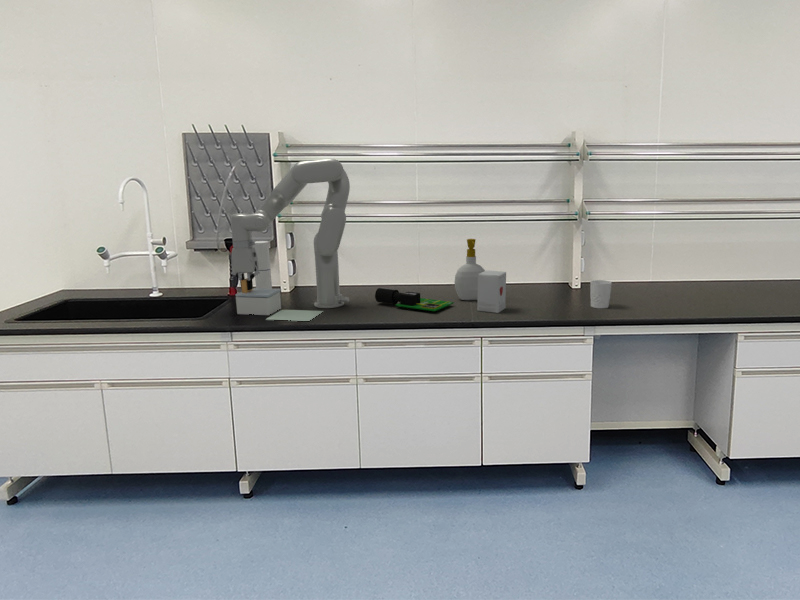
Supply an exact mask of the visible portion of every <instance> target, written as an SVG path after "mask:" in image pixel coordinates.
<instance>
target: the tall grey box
mask: <svg viewBox="0 0 800 600" xmlns="http://www.w3.org/2000/svg"><path fill="white" fill-rule="evenodd" d="M254 242H255V245H253V247H255V250H256V253H257V258H258V264H259V272H260V274H258V275H256V276H255V277H254V279H255V280H254V281H255V288H261V289H273V285H272V284H273V282H272V272H271V271H272V270H271V260H270V259H271V258H270V257H271V256H270V245H269V241H268V240H257V241H254Z"/></svg>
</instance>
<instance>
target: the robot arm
mask: <svg viewBox="0 0 800 600" xmlns="http://www.w3.org/2000/svg"><path fill="white" fill-rule="evenodd" d="M317 183H328V189H327V195H326V199H325V203H324V205H323V208H322V211H321V214H320V218H321V219H320V223H319V226H318V227H319V228H318V231H317V233H316V234H315V235H314V238H313V251H314V261H315V262H314V263H315V265H314V266H315V279H316V280H315V282H316V297H317V300H316V301H315V302H313V304H314V305H313V306H314V307H315V308H318V309H334V308H339V307H342V306H344V304H345V303H349V302H350V297H348V296H344V295H343V293H341V292H340V291H341V290H340V274H339V255H338V251H339V248H340V245H341V241H342V239H343V238H342V237H343V234H344V231H345V227H346V224H347V223H346V222H347V215H346V212H345V211H346V209H347V205H348V200H349V196H350V191H351V189H350V188H351V186H350V179H349V176H348V173H347V172H346V170H345V169H344V166H343V164H342V162H341V161H339V160H338V159H335V158H328V159H327V158H326V159H317V160H305V161H303V160H301V161H298V162H296V163H295V164H293V166H292V167H291V168H290V169H289V171H287V173H286V174H285V175H284V176H283V177H282V178H281V180H280V181H279V182H278V183H277V184H276V186H275V187H274V188H273V189H272V191H271V192H270V194H269V196H268V197H267V198H266V200H264V202H263V203H262V204H261V205H260V206H259V207H258V208H257V209H256V211H255V212H254V213H249V214H248V213H246V212H245V213H239V212H238V213H233V214H231V215H230V228H231V229H230V231H231V238H232V239H231V240H232V247H233V248H231V258H230V261H231V275H233V276H235V277H237V279H238V280H239V281H240V283H239V284H241V280H244V279H246V278H247V279H248V280H247V290H251V289H252V288H253V287H254V286H253V285H254V284H253V280H254V279H255V276H256V275H258V274H260V272H259V264H258V258H257V253H256V250H255V247H253V245H255V242H256V241H253V238H252V235H253V234H252V232H255V233H256V232H257V233H259V232H265V231H266V230H268V228H269V227H270V225H271V224H272V222H273V221H274V220H275V219H276V218H277V216H279V214H280V213H282V211H283V210H284V209H285V208H286V207H288V206H290V205H291V203H292V202H293V201H294V200H295V199H296V197H297V196H298V195H299V194H300V193H301V192H302V191H303V190H304V188H305V187H307V185H308V184H317ZM245 274H246V277H245ZM240 288H241V289H242V286H241V285H240Z"/></svg>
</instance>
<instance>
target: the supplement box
mask: <svg viewBox="0 0 800 600" xmlns="http://www.w3.org/2000/svg"><path fill="white" fill-rule="evenodd" d="M506 289H507V271H502V270H501V271H498V270H497V271H496V270H485V271H484V272H481V273H480V274H478V300H477V302H476V303H477V307H476V308H477V309H476V310H477V311H478V312H485V313H494V314H499V313H500V312H502V311H504V310H505V309H506V298H507V296H506V295H507V290H506Z"/></svg>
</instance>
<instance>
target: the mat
mask: <svg viewBox="0 0 800 600" xmlns="http://www.w3.org/2000/svg"><path fill="white" fill-rule="evenodd" d="M322 312H323V313H324V310H305V309H302V310H301V309H280V310H278V311H276V312H274V313H273V314H271V315H269V317H267V318H266V319H265V321H274V320H288V321H287V322H297V321H310V320H311V321H313V320H314V319H316V318H317V317H318V315H319V314H320V315H321V313H322ZM323 313H322V314H323ZM320 315H319V316H320ZM316 316H317V317H316ZM315 317H316V318H315ZM313 318H314V319H313ZM312 319H313V320H312ZM290 320H291V321H290ZM311 321H310V322H311Z"/></svg>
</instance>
